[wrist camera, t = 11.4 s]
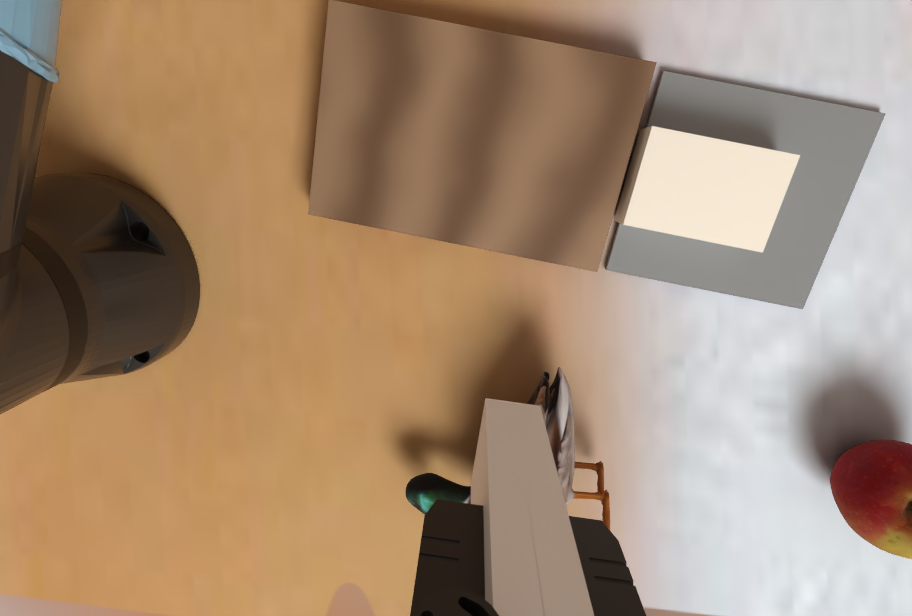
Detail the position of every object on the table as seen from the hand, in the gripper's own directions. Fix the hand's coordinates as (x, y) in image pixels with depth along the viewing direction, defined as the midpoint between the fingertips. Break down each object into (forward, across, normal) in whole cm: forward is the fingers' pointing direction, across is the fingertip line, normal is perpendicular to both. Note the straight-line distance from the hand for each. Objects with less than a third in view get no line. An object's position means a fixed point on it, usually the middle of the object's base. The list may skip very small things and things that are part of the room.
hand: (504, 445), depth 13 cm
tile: (+22, +13, +7) cm, 26 cm away
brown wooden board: (+23, -2, +8) cm, 24 cm away
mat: (+22, +16, +7) cm, 28 cm away
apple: (+22, +31, -11) cm, 39 cm away
